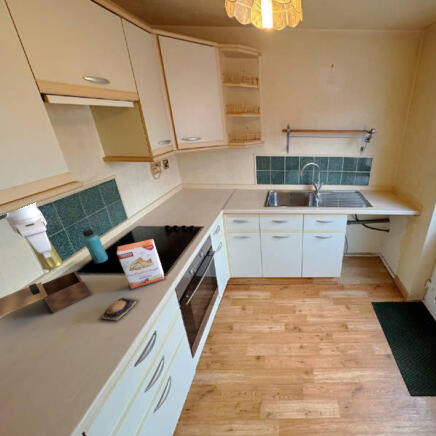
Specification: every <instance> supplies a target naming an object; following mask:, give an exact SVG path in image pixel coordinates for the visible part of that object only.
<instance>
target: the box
mask: <svg viewBox="0 0 436 436" xmlns="http://www.w3.org/2000/svg"><path fill="white" fill-rule="evenodd" d="M42 285H43V287H44V289H45V291H46V293H47V295H48V296H47V297H45V298H43V300H44V302H45V303H46V305H47V306H48V308H49V310H50V311H51V312H52V314H54V313H56V312H59V311H60V310H63V309H65V308H66V307H69V306H70V305H72V304H75V303H77V302H79V301H81V300H83V299H85V298H87V297H89V296H91V293H90V291H89V289H88V288H87V286H86V283H85V282H84V280H83V279H82V278H81V276H80V275H79V273H78V272H77V271H76V270H74V271H71V272H68V273H65V274H64V275H60V276H58V277H55V278H54V279H50V280H48V281H46V282H44V283H42Z"/></svg>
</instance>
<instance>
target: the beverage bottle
mask: <svg viewBox="0 0 436 436" xmlns="http://www.w3.org/2000/svg"><path fill="white" fill-rule="evenodd" d="M82 234H83V236H84V239H83V242H84V244H85V247H86V250H87V251H88V253H89V254H90V257H91V260H92V261H93V263H94V264H102V263H104V262H106V261H108V260H109V257H108V254H107V252H106V250H105V247H104V246H103V244H102V241H101V239H100V236H99V235H98V234H95V232H94V230H93V229H87V230H84V231H83V232H82Z"/></svg>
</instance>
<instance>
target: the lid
mask: <svg viewBox="0 0 436 436" xmlns="http://www.w3.org/2000/svg"><path fill="white" fill-rule="evenodd" d="M42 284H43V283H42V282H41V281H40V282H37V283H36V282H35V283H32V284H30V285H28V286H27V287H25V288H22V289H19V290H17V291H15V292H12V293H9V294H6V295H5V296H2V297H0V318H1V317H4V316H6V315H8V314H10V313H12V312H15V311H17V310H20V309H22V308H24V307H27V306H29V305H31V304H33V303H36V302H38V301H40V300H42V299H43V300H44V298H45V297H47V296H48V295H47V293H46V291H45V289H44V287H43V285H42Z"/></svg>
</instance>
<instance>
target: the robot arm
mask: <svg viewBox="0 0 436 436" xmlns="http://www.w3.org/2000/svg"><path fill="white" fill-rule="evenodd" d="M0 220H6V222H7V223H8V225H9V226H10V227H11V229H12V231H13V233H16V234H18V235H20V236H21V237H22V238H24V239H25V240H27V241H26V242H28V244H29V243H30V244H31V245H32V247H33V248H34V249H35V250H36V251H37V252H38V253H39V254H41V253H42V254H43V255H44V257H45V258H48V257H51V254H50V252H49V251H50V250H51V245H50V242H51V241H50V242H49V240H50V239H48V238H49V237H48V234H47V232H46V231H47V230H48V229H47V225H48V222H47V220H46V218H45V217H44V214H43V213H42V211H41V210H40V209H39V208H38V206H37V201H36V202H35V203H33V204H30V205H28V206H25V207H23V208H20V209H18V210H15V211H13V212H10V213H7V214H4V215H2V216H0ZM30 244H29V245H30ZM31 245H30V246H31ZM32 247H31V248H32Z"/></svg>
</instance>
